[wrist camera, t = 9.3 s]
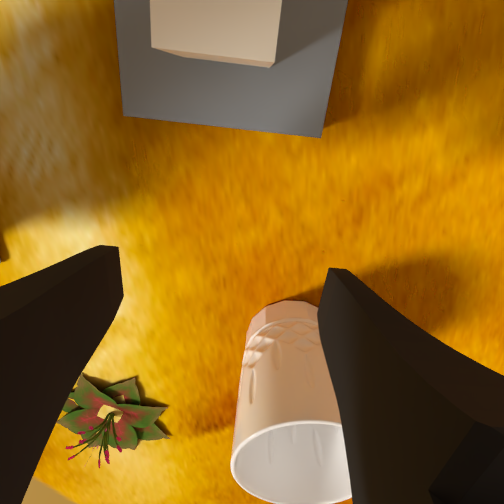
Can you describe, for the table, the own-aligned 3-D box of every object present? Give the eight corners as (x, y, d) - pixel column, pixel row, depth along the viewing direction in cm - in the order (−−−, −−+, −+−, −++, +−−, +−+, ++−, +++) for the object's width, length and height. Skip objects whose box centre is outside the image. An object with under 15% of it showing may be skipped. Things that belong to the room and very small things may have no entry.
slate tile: (136, 112, 18) (123, 115, 16) (119, -155, 13) (98, -192, 11) (314, 132, 18) (320, 138, 16) (362, -121, 13) (378, -151, 12)
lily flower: (190, 439, 33) (181, 489, 29) (85, 451, 34) (61, 501, 30) (147, 356, 27) (127, 404, 23) (23, 375, 29) (-15, 423, 25)
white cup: (289, 273, 23) (309, 397, 14) (361, 330, 25) (417, 467, 16) (219, 335, 25) (199, 471, 17) (290, 381, 28) (305, 521, 19)
